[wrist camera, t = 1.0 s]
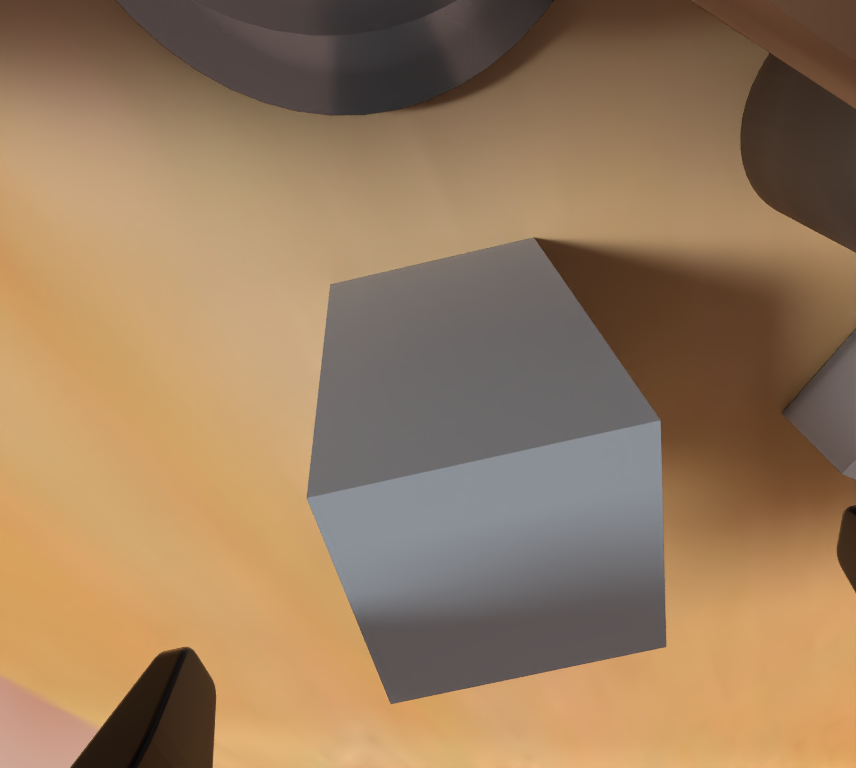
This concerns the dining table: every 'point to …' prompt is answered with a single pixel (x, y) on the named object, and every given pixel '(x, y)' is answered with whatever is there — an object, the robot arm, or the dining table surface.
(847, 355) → the tray
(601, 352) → the block
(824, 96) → the crank arm
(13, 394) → the dining table surface
